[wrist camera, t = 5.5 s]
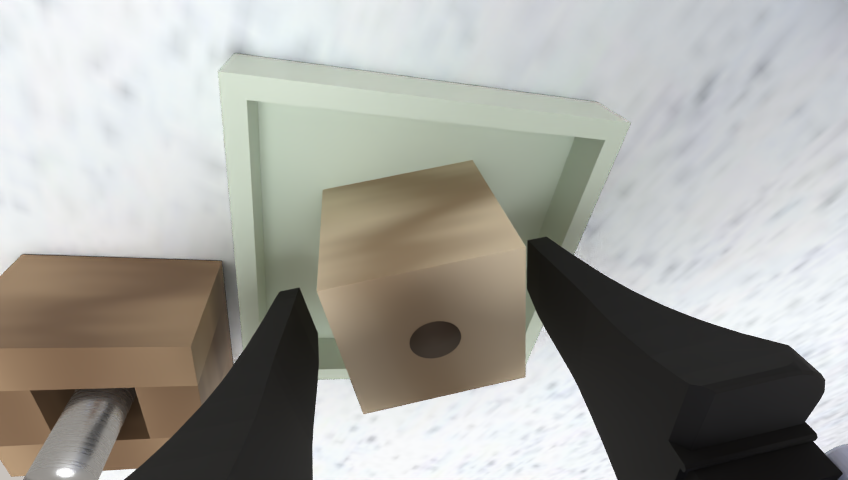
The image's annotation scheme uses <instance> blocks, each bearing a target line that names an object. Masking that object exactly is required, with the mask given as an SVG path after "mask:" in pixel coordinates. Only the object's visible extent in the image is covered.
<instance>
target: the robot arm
mask: <svg viewBox="0 0 848 480" xmlns="http://www.w3.org/2000/svg"><path fill="white" fill-rule="evenodd" d="M527 290H528V293H529V295H530V298H531V300H532V303H533V305H534V307H535V310H536V312H537V314H538V316H539V318H540V320H541V322H542V324H543V325H544V327H545V329H546V331H547V332H548V334H549V336H550V338H551V339H552V341H553V343H554V344H555V346H556V348H557V350H558V351H559V353H560V355H561V356H562V358H563V360H564V362H565V363H566V365H567V367H568V368H569V370H570V372H571V374H572V376H573V377H574V379H575V381H576V383H577V385H578V387H579V389H580V392H581V394H582V396H583V398H584V401H585V403H586V405H587V407H588V409H589V412H590V414H591V416H592V419H593V421H594V423H595V426H596V428H597V430H598V433H599V435H600V437H601V440H602V442H603V445H604V447H605V449H606V452H607V454H608V457H609V459H610V462H611V464H612V467H613V469H614V472H615V474H616V477H617V479H618V480H848V444H845V445H841V446H838V447H835V448H833V449H831V450H829V451H828V452H826V453H825V454H824V453H823V451H822V450H821V449H820V448H819V447H818V446H817V445H816V444H815V443H814V442H813V441H815V440H816V439H817V438H818V437H817V434H816V433H815V431H814V430H813V429H812V428H811V427H810V426H809V425H808V424H807V423H806V422H805V421H806V419H807V418H808V416H809V415H810V414H811V412H812V411H813V409H814V408H815V406H816V405H817V403H818V402H819V401H820V399H821V397H822V395H823V393H824V390H825V379H824V378H823V376H822V375H821V374H820V373H819V372H818V371H817V370H816V369H815V368H814V367H813V366H812V365H810V364H809V363H808V362H807V361H806V360H805V359H804V358H803V357H801V356H800V355H799V354H798V353H797V352H796V351H795V350H794V349H792V348H791V347H790V346H789V345H785V344H781V343H777V342H773V341H770V340H766V339H762V338H758V337H754V336H750V335H746V334H742V333H739V332H736V331H733V330H729V329H726V328H723V327H720V326H717V325H713V324H711V323H708V322H705V321H702V320H699V319H696V318H694V317H691V316H688V315H686V314H683V313H681V312H678V311H676V310H673V309H671V308H668V307H666V306H664V305H661V304H659V303H657V302H655V301H653V300H651V299H648V298H646V297H644V296H642V295H640V294H638V293H636V292H634V291H632V290H630V289H628V288H626V287H625V286H623V285H621V284H619V283H618V282H616V281H614V280H612V279H610V278H609V277H607V276H605V275H604V274H602V273H600V272H599V271H597V270H596V269H594V268H592V267H591V266H589V265H588V264H586V263H585V262H583V261H582V260H580V259H579V258H577V257H576V256H574V255H573V254H571V253H570V252H568V251H567V250H565V249H564V248H562V247H561V246H560V245H558V244H557V243H555V242H554V241H552V240H551V239H549V238H548V237H541V238H536V239H531V240H527ZM318 370H319V346H318V332H317V330H316V327H315V325H314V322H313V320H312V317H311V315H310V312H309V310H308V307H307V305H306V302H305V300H304V297H303V295H302V292H301V290H300V287H299V288H294V289H289V290H284V291H280V292H279V293H278V295H277V296H276V298H275V299H274V301H273V303H272V305H271V306H270V308H269V310H268V312H267V313H266V315H265V317H264V318H263V320H262V322H261V323H260V325H259V327H258V328H257V330H256V332H255V333H254V335H253V336H252V338H251V340H250V341H249V343H248V344H247V346H246V347H245V349H244V351H243V352H242V353H241V355H240V356H239V358H238V359H237V361H236V362H235V363H234V365H233V366H232V368H231V369H230V371H229V372H228V373H227V375H226V376H225V377H224V379H223V380H222V381H221V383H220V384H219V385H218V386H217V388H216V389H215V390H214V391H213V393H212V394H211V395H210V396H209V397H208V399H207V400H206V401H205V402H204V403H203V404H202V405H201V407H200V408H199V409H198V410H197V411H196V412H195V413H194V414H193V415H192V416H191V417H190V418H189V419H188V420H187V421H186V422H185V424H184V425H183V426H182V427H181V428H180V429H179V430H178V431H177V432H176V433H175V434H174V435H173V436H172V437H171V438H170V439H169V440H168V441H167V442H166V443H165V444H164V445H163V446H162V447H161V448H160V449H158V450H157V451H156V452H155V453H154V454H153V455H152V456H151V457H150V458H149V459H148V460H146V461H145V462H144V463H143V464H142V465H141V466H140V467H139V468H137V469H136V470H135V471H134V472H133V473H132V474H130V475H129V476H128V477H127V478H126V479H124V480H313V470H312V440H313V425H314V414H315V404H316V393H317V382H318Z"/></svg>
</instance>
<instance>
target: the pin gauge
mask: <svg viewBox="0 0 848 480" xmlns="http://www.w3.org/2000/svg"><path fill="white" fill-rule="evenodd" d="M135 396H136V391H135V388H98V389H76V390H75V392H74V393H73V395H72V397H71V398H70V400H69V402H68V403H67V405H66V407H65V409H64V410H63V412H62V414H61V415H60V417H59V419H58V421H57V422H56V424H55V426H54V427H53V429H52V431H51V433H50V434H49V436H48V438H47V439H46V441H45V443H44V445H43V446H42V448H41V450H40V451H39V453H38V455H37V456H36V458H35V460H34V462H33V463H32V465H31V467H30V468H29V470H28V472H27V474H26V475H25V477H24V479H23V480H98V479H99V477H100V475H101V472H102V470H103V468H104V466H105V463H106V461H107V459H108V457H109V454H110V452H111V450H112V448H113V445H114V443H115V441H116V439H117V436H118V434H119V432H120V430H121V427H122V425H123V423H124V421H125V418H126V416H127V414H128V412H129V410H130V407H131V405H132V403H133V401H134V398H135Z"/></svg>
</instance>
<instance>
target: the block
mask: <svg viewBox="0 0 848 480" xmlns="http://www.w3.org/2000/svg"><path fill="white" fill-rule="evenodd" d="M317 294H318V296H319V299H320V302H321V304H322V307H323V309H324V312H325V315H326V317H327V320H328V323H329V325H330V328H331V330H332V333H333V336H334V338H335V341H336V344H337V346H338V349H339V351H340V354H341V357H342V359H343V362H344V364H345V367H346V370H347V372H348V375H349V378H350V380H351V383H352V385H353V388H354V391H355V393H356V396H357V399H358V401H359V404H360V406H361V409H362V412H363V414H367V413H371V412H375V411H380V410H384V409H388V408H393V407H397V406H402V405H406V404H410V403H415V402H419V401H423V400H428V399H432V398H436V397H441V396H445V395H450V394H454V393H458V392H463V391H467V390H471V389H476V388H480V387H485V386H489V385H493V384H498V383H502V382H506V381H511V380H515V379H519V378H524V377H525V359H526V246H525V245H524V243H523V241H522V240H521V238H520V236H519V235H518V233H517V232H516V230H515V228H514V227H513V225H512V223H511V222H510V220H509V219H508V217H507V215H506V214H505V212H504V210H503V209H502V207H501V206H500V204H499V202H498V201H497V199H496V197H495V196H494V194H493V193H492V191H491V189H490V188H489V186H488V184H487V183H486V181H485V180H484V178H483V176H482V175H481V173H480V171H479V170H478V168H477V167H476V165H475V163H474V162H473V160H470V161H465V162H460V163H455V164H450V165H444V166H439V167H434V168H429V169H424V170H419V171H414V172H409V173H404V174H399V175H394V176H389V177H384V178H379V179H374V180H369V181H364V182H359V183H354V184H349V185H344V186H339V187H334V188H329V189H324V190H323V193H322V209H321V226H320V243H319V259H318V276H317Z"/></svg>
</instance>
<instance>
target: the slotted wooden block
mask: <svg viewBox="0 0 848 480" xmlns="http://www.w3.org/2000/svg"><path fill="white" fill-rule="evenodd" d="M232 366H233V358H232V349H231V340H230V331H229V322H228V313H227V304H226V295H225V286H224V277H223V268H222V261H207V260H176V259H145V258H114V257H84V256H53V255H21V256H20V257H19V258H18V259H17V260H16V261H15V262H14V263H13V264H12V265H11V266H10V267H9V268H8V269H7V270H6V271H5V272H4V273H3V274H2V275H1V276H0V460H1V462H2V463H3V465H4V466H5V467H6V469H7V471H8V472H9V474H10V475H11V477H14V476H25V475H26V474H27V472H28V470H29V468H30V467H31V465H32V463H33V462H34V460H35V458H36V456H37V455H38V453H39V451H40V450H41V448H42V446H43V445H44V443H45V441H46V439H47V438H48V436H49V434H50V433H51V431H52V429H53V427H54V426H55V424H56V422H57V421H58V419H59V417H60V415H61V414H62V412H63V410H64V409H65V407H66V405H67V403H68V402H69V400H70V398H71V397H72V395H73V393H74V392H75V390H76V389H98V388H135V391H136V396H135V398H134V401H133V403H132V405H131V407H130V410H129V412H128V414H127V416H126V418H125V421H124V423H123V425H122V427H121V430H120V432H119V434H118V436H117V439H116V441H115V443H114V445H113V448H112V450H111V452H110V454H109V457H108V459H107V461H106V463H105V466H104V468H103V470H102V471H106V470H121V469H136V468H139V467H140V466H141V465H142V464H143V463H144V462H145V461H146V460H148V459H149V458H150V457H151V456H152V455H153V454H154V453H155V452H156V451H157V450H158V449H160V448H161V447H162V446H163V445H164V444H165V443H166V442H167V441H168V440H169V439H170V438H171V437H172V436H173V435H174V434H175V433H176V432H177V431H178V430H179V429H180V428H181V427H182V426H183V425H184V424H185V422H186V421H187V420H188V419H189V418H190V417H191V416H192V415H193V414H194V413H195V412H196V411H197V410H198V409H199V408H200V407H201V405H202V404H203V403H204V402H205V401H206V400H207V399H208V397H209V396H210V395H211V394H212V393H213V391H214V390H215V389H216V388H217V386H218V385H219V384H220V383H221V381H222V380H223V379H224V377H225V376H226V375H227V373H228V372H229V371H230V369H231V368H232Z"/></svg>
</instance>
